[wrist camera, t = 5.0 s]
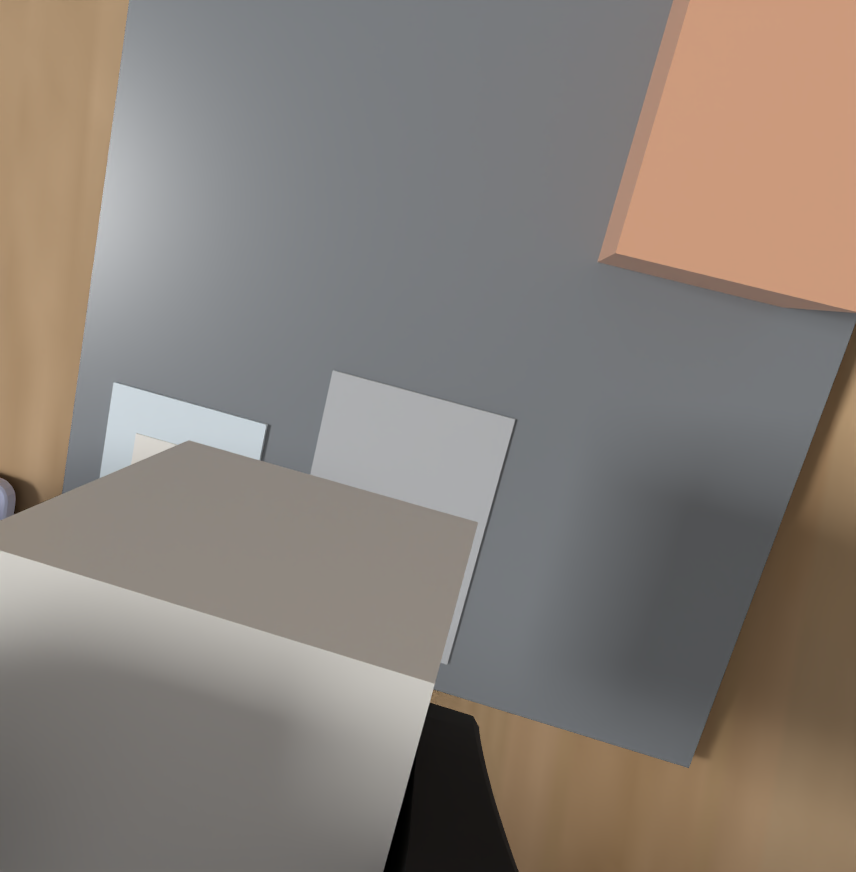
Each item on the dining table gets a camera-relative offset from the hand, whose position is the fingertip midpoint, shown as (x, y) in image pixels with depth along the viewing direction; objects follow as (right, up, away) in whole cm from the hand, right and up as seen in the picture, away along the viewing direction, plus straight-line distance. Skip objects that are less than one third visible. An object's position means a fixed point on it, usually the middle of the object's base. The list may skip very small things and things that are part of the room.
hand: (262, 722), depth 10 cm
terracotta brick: (+8, +10, +6) cm, 14 cm away
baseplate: (+3, +7, +8) cm, 11 cm away
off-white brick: (0, 0, +1) cm, 1 cm away
